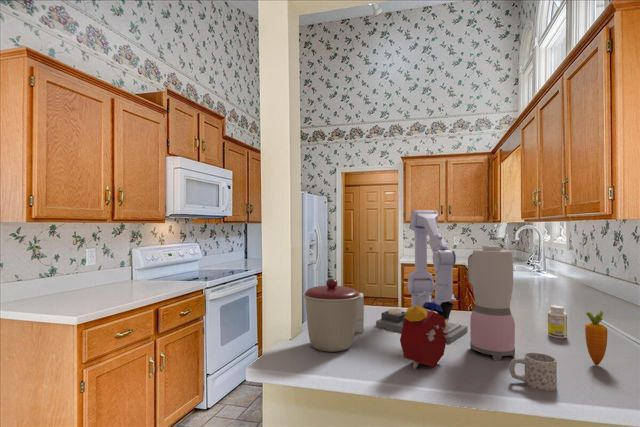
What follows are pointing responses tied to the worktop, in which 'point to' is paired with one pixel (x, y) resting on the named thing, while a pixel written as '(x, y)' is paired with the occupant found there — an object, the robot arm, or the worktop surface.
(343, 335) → the canister
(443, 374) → the worktop surface
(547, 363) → the mug
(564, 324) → the supplement bottle
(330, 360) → the worktop surface
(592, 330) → the carrot
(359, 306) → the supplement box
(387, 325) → the control panel
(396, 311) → the cream button
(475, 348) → the blender
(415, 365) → the alarm clock
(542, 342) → the worktop surface
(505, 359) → the worktop surface
